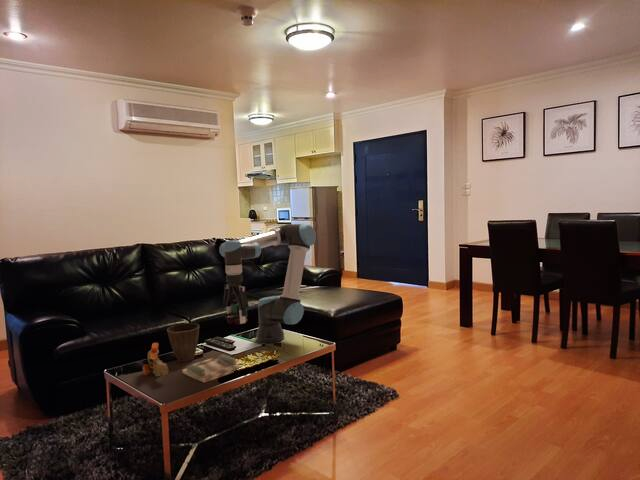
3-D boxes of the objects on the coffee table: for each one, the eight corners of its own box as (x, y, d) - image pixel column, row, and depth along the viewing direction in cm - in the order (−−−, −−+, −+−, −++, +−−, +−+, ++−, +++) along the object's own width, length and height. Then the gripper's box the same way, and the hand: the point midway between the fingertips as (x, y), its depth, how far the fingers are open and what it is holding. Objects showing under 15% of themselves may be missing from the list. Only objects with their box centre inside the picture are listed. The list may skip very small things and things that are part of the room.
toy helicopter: (159, 368, 204) (157, 339, 203) (177, 381, 188) (175, 349, 187) (141, 373, 199) (139, 343, 198) (157, 386, 183) (155, 354, 182)
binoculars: (219, 303, 203) (234, 297, 211) (222, 325, 204) (237, 318, 213) (234, 305, 198) (249, 298, 207) (237, 327, 200) (251, 320, 208)
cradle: (218, 360, 211) (218, 352, 211) (241, 369, 199) (240, 360, 198) (182, 372, 197) (181, 364, 197) (204, 382, 185) (203, 373, 185)
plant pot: (176, 367, 204) (174, 333, 203) (164, 359, 216) (162, 327, 215) (206, 359, 214) (204, 327, 213) (193, 352, 225) (191, 321, 224)
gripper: (213, 273, 209) (216, 319, 211) (241, 276, 194) (244, 326, 196) (227, 271, 215) (229, 316, 216) (255, 274, 199) (257, 323, 201)
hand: (236, 321), depth 206 cm, fingers closed on binoculars, 9 cm apart
